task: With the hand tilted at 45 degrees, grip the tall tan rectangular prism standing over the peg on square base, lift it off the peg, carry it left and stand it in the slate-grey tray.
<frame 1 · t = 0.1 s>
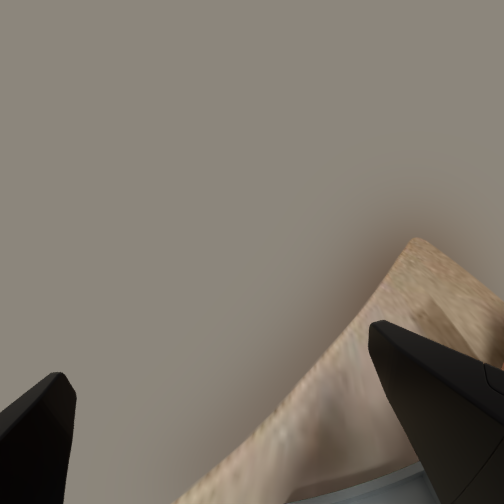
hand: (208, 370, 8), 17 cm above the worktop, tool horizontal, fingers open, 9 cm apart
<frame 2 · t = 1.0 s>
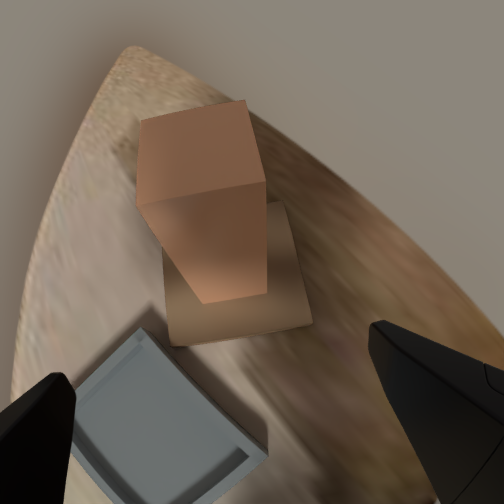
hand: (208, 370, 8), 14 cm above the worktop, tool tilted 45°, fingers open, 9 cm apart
tray: (152, 439, 19), on the worktop
peg on square base: (231, 272, 24), on the worktop
tan rectangular prism: (229, 268, 23), point 1 cm above the worktop, touching peg on square base
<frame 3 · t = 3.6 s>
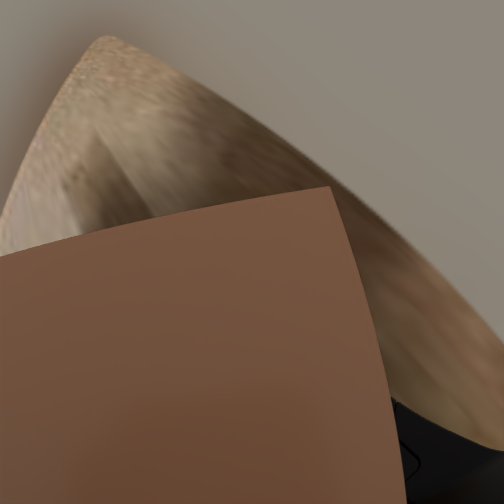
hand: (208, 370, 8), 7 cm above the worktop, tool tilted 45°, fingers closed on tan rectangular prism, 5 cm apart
tan rectangular prism: (238, 404, 14), point 1 cm above the worktop, touching gripper, peg on square base
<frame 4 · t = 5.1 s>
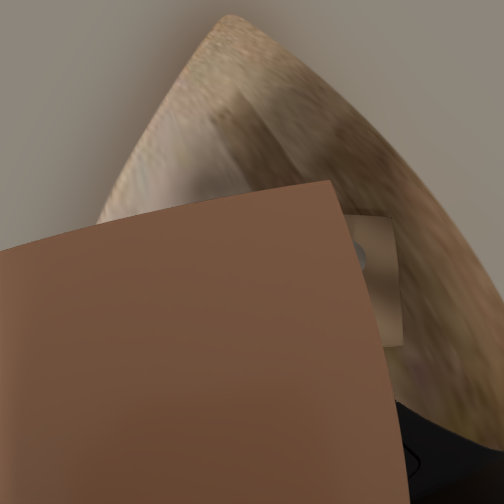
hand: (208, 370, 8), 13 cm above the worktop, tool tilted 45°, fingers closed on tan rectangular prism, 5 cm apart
peg on square base: (332, 279, 23), on the worktop
tan rectangular prism: (238, 402, 14), point 7 cm above the worktop, touching gripper
when the fingers open (9 cm above the worktop, at t = 6.6 s): tan rectangular prism drops 1 cm, resting on tray.
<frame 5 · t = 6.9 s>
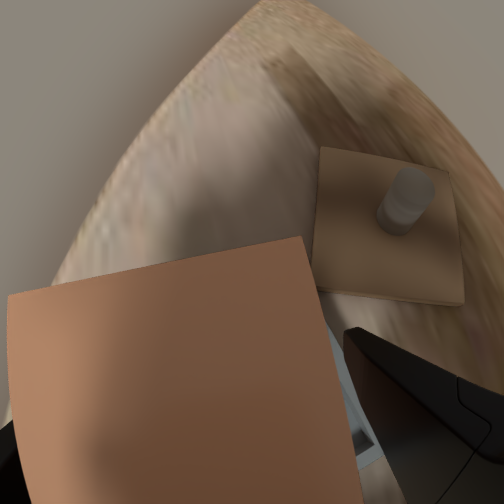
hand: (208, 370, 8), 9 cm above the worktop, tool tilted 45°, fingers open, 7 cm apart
tray: (242, 401, 16), on the worktop
peg on square base: (390, 224, 19), on the worktop
tan rectangular prism: (241, 401, 15), point 1 cm above the worktop, touching tray
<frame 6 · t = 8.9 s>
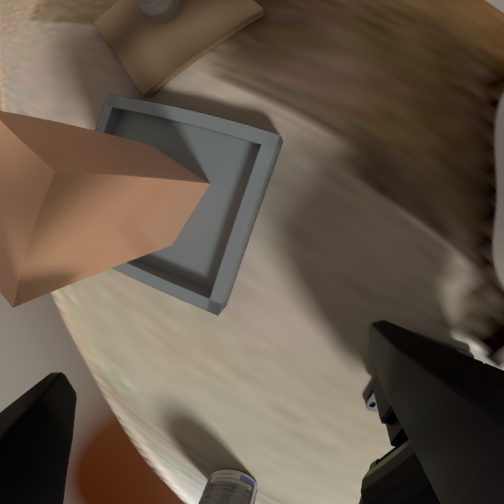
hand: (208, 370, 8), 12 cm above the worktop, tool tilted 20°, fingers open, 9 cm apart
tray: (168, 195, 20), on the worktop
peg on square base: (171, 15, 18), on the worktop
tan rectangular prism: (162, 195, 20), point 1 cm above the worktop, touching tray
pill bottle: (234, 481, 24), on the worktop
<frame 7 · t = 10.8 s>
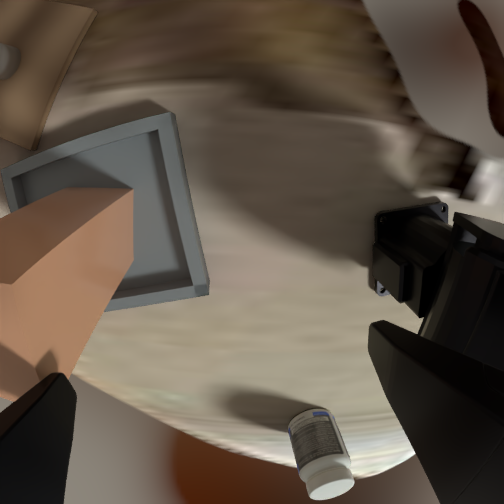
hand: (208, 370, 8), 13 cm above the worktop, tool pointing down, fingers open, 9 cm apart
tray: (104, 220, 19), on the worktop
peg on square base: (14, 64, 14), on the worktop
tan rectangular prism: (99, 223, 18), point 1 cm above the worktop, touching gripper, tray
pill bottle: (310, 421, 28), on the worktop
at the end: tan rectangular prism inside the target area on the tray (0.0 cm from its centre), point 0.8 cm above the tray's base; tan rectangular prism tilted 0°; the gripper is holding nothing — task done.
